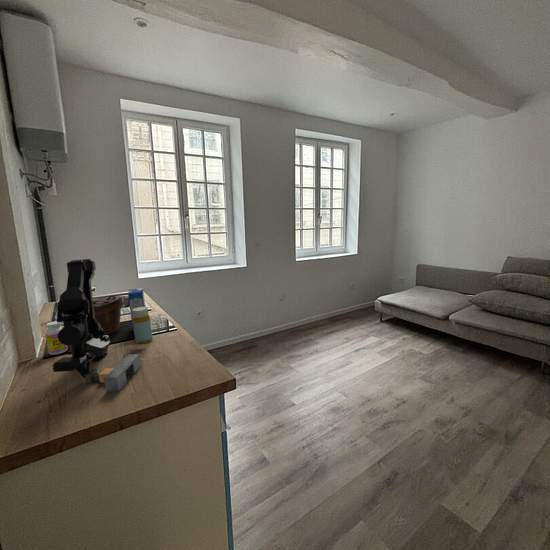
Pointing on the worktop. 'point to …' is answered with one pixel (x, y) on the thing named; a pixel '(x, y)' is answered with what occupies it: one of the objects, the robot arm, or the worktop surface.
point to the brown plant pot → (108, 313)
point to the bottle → (142, 325)
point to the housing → (122, 373)
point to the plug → (97, 375)
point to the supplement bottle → (54, 339)
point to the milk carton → (136, 300)
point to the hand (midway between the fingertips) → (86, 377)
